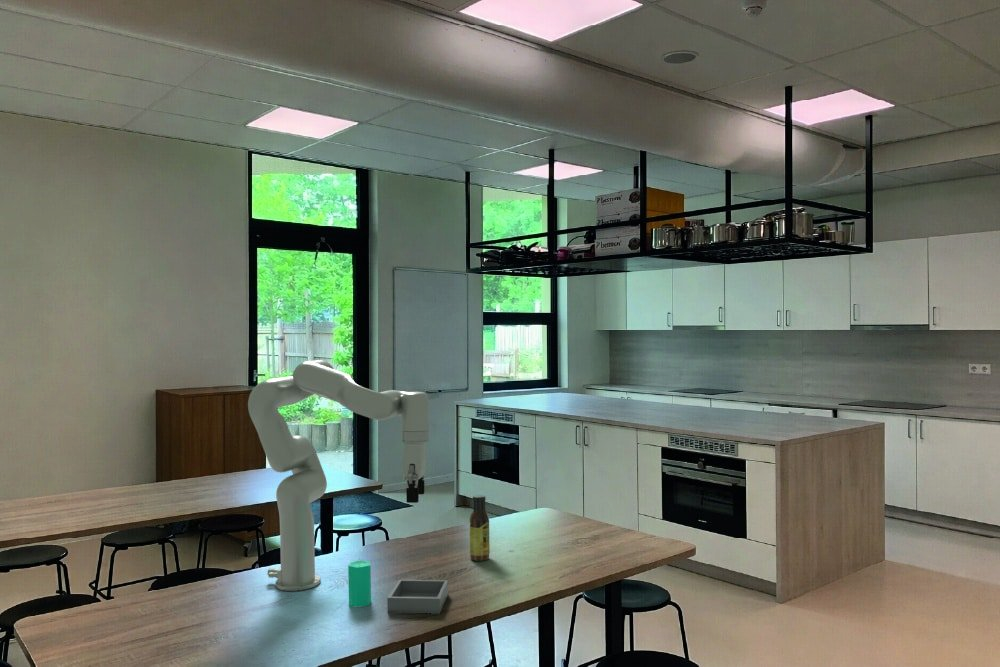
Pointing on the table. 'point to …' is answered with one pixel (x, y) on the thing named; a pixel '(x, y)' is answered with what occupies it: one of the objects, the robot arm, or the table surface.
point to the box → (418, 596)
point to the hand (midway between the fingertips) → (415, 498)
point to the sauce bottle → (479, 530)
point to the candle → (359, 583)
